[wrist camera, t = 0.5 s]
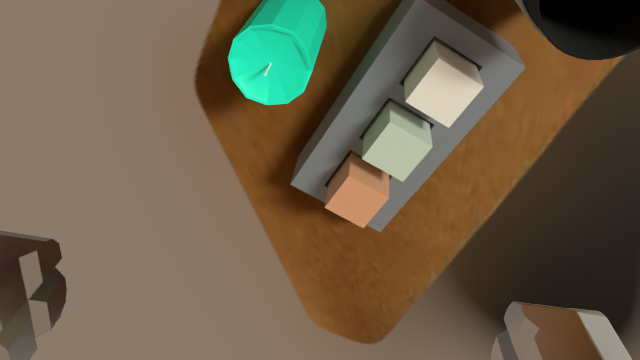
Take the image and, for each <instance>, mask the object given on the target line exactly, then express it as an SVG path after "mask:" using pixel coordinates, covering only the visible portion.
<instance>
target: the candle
mask: <svg viewBox="0 0 640 360" xmlns="http://www.w3.org/2000/svg"><path fill="white" fill-rule="evenodd" d="M326 27H327V23H326V15H325V8H324V7H323V5H322V4H321V3H320V1H319V0H263V1H262V2H261V3H260V5H259V6H258V7H257V9H256V10H255V11H254V13H253V14H252V15H251V17H250V18H249V19H248V21H247V22H246V23H245V25H244V26H243V27H242V28H241V30H240V31H239V32H238V34H237V35H236V36H235V38H234V39H233V42H232V46H231V49H230V53H229V56H228V62H229V66H230V71H231V76H232V80H233V81H234V83H235V84H236V85H237V87H238V88H239V89H240V90H241V92H242V93H243V94H244V96H245V97H246V98H248V99H251V100H254V101H257V102H259V103H262V104H265V105H275V104H287V103H289V102H290V101H292V100H293V99H294V98H296V97H297V96H299V95H300V94H301V93H303V92H304V90H305V88H306V85H307V83H308V80H309V78H310V76H311V73H312V71H313V68H314V64H315V61H316V58H317V55H318V52H319V49H320V46H321V43H322V40H323V37H324V34H325V31H326Z"/></svg>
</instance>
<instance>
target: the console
mask: <svg viewBox="0 0 640 360" xmlns="http://www.w3.org/2000/svg"><path fill="white" fill-rule="evenodd" d="M434 36H435V37H436V38H438V39H440V40H441V41H443V42H444V43H446V44H447V45H449V46H451V47H452V48H454V49H455V50H457V51H458V52H460V53H461V54H463V55H465V56H466V57H468V58H469V59H471V60H472V61H474V62H475V64H476V67H477V69H478V72H479V75H480V77H481V80H482V83H483V86H484V87H483V88H482V90H481V91H480V92H479V93H478V94H477V96H476V97H475V98H474V99H473V100H472V101H471V103H470V104H469V105H468V106H467V107H466V108H465V110H464V111H463V112H462V113H461V114H460V115H459V117H458V118H457V119H456V120H455V121H454V123H453V124H452V125H451V126H450V127H449V128H448V127H446V126H445V125H443V124H441V123H440V122H438V121H436V120H435V119H433V118H431V117H430V116H428V115H426V114H425V113H423V112H421V111H420V110H418V109H416V108H415V107H413V106H411V105H410V104H408V103H406V102H405V89H404V76H405V75H406V74H407V72H408V71H409V69H410V68H411V67H412V65H413V64H414V63H415V61H416V60H417V59H418V57H419V56H420V54H421V53H422V52H423V50H424V49H425V48H426V46H427V45H428V44H429V42H430V41H431V40H432V38H433V37H434ZM525 68H526V67H525V65H524V63H523V62H522V60H521V58H520V56H519V55H518V53H517V51H516V50H515V48H514V46H513V45H512V44H511V43H509V42H508V41H506V40H505V39H503V38H502V37H500V36H499V35H497V34H496V33H494V32H493V31H491V30H490V29H488V28H486V27H485V26H483V25H482V24H480V23H479V22H477V21H476V20H474V19H473V18H471V17H470V16H468V15H467V14H465V13H464V12H462V11H461V10H459V9H458V8H456V7H455V6H453V5H452V4H450V3H449V2H447V1H446V0H402V1H401V3H400V4H399V6H398V7H397V9H396V10H395V12H394V13H393V15H392V16H391V18H390V19H389V21H388V22H387V24H386V25H385V27H384V28H383V30H382V31H381V33H380V34H379V36H378V37H377V39H376V40H375V42H374V43H373V45H372V46H371V48H370V49H369V51H368V52H367V54H366V55H365V57H364V58H363V60H362V61H361V63H360V64H359V66H358V67H357V69H356V70H355V72H354V73H353V75H352V76H351V78H350V79H349V81H348V82H347V84H346V85H345V87H344V88H343V90H342V91H341V93H340V94H339V96H338V97H337V99H336V100H335V102H334V103H333V105H332V106H331V108H330V109H329V111H328V112H327V114H326V115H325V117H324V118H323V120H322V121H321V123H320V124H319V126H318V127H317V129H316V130H315V132H314V133H313V135H312V136H311V138H310V139H309V141H308V142H307V144H306V145H305V147H304V148H303V150H302V151H301V153H300V154H299V156H298V159H297V162H296V166H295V169H294V173H293V176H292V180H291V183H290V185H292V186H294V187H296V188H298V189H300V190H302V191H303V192H305V193H307V194H309V195H311V196H313V197H315V198H317V199H318V200H320V201H322V202H324V203H325V202H326V197H327V191H328V185H329V179H330V177H331V176H332V174H333V173H334V171H335V170H336V169H337V167H338V166H339V165H340V163H341V162H342V161H343V159H344V158H345V156H346V155H347V154H348V152H349V151H350V150H351V151H353V152H355V153H356V154H358V155H360V156H362V150H363V139H364V131H365V129H366V128H367V127H368V125H369V124H370V122H371V121H372V120H373V118H374V117H375V116H376V114H377V113H378V112H379V110H380V109H381V108H382V106H383V105H384V103H385V102H386V101H387V99H388V98H391V99H393V100H394V101H396V102H398V103H399V104H401V105H403V106H404V107H406V108H408V109H409V110H411V111H413V112H414V113H416V114H418V115H419V116H421V117H423V118H424V119H426V120H428V121H429V123H430V131H431V138H432V146H433V147H432V148H431V150H430V151H429V152H428V153H427V154H426V155H425V157H424V158H423V159H422V160H421V161H420V162H419V164H418V165H417V166H416V167H415V168H414V170H413V171H412V172H411V173H410V174H409V175H408V177H407V178H406V179H405V180H404V181H403V182H402V181H400V180H398V179H397V178H395V177H393V176H391V175H390V174H389V199H388V200H387V201H386V202H385V204H384V205H383V206H382V207H381V208H380V209H379V211H378V212H377V213H376V214H375V215H374V216H373V218H372V219H371V220H370V221H369V222H368V224H367V226H369V227H371V228H373V229H375V230H377V231H379V232H381V230H382V229H383V228H384V227H385V226H386V225H387V224H388V222H389V221H390V220H391V219H392V218H393V217H394V216H395V215H396V213H397V212H398V211H399V210H400V209H401V208H402V207H403V206H404V204H405V203H406V202H407V201H408V200H409V199H410V198H411V196H412V195H413V194H414V193H415V192H416V191H417V190H418V189H419V187H420V186H421V185H422V184H423V183H424V182H425V181H426V180H427V178H428V177H429V176H430V175H431V174H432V173H433V172H434V170H435V169H436V168H437V167H438V166H439V165H440V164H441V163H442V161H443V160H444V159H445V158H446V157H447V156H448V155H449V154H450V152H451V151H452V150H453V149H454V148H455V147H456V146H457V144H458V143H459V142H460V141H461V140H462V139H463V138H464V137H465V135H466V134H467V133H468V132H469V131H470V130H471V129H472V128H473V126H474V125H475V124H476V123H477V122H478V121H479V120H480V118H481V117H482V116H483V115H484V114H485V113H486V112H487V111H488V109H489V108H490V107H491V106H492V105H493V104H494V103H495V102H496V100H497V99H498V98H499V97H500V96H501V95H502V94H503V92H504V91H505V90H506V89H507V88H508V87H509V86H510V85H511V83H512V82H513V81H514V80H515V79H516V78H517V77H518V76H519V74H520V73H521V72H522V71H523V70H524V69H525Z"/></svg>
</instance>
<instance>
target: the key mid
mask: <svg viewBox="0 0 640 360" xmlns="http://www.w3.org/2000/svg"><path fill="white" fill-rule="evenodd" d="M432 147H433V146H432V138H431V131H430V123H429V121H428V120H426V119H424V118H423V117H421V116H419V115H418V114H416V113H414V112H413V111H411V110H409V109H408V108H406V107H404V106H403V105H401V104H399V103H398V102H396V101H394V100H393V99H391V98H388V99H387V101H386V102H385V103H384V105H383V106H382V108H381V109H380V110H379V112H378V113H377V114H376V116H375V117H374V118H373V120H372V121H371V122H370V124H369V125H368V127H367V128H366V129H365V131H364V139H363V150H362V159H363V160H365V161H366V162H368V163H370V164H372V165H374V166H375V167H377V168H379V169H381V170H382V171H384V172H386V173H388V174H390V175H391V176H393V177H395V178H397V179H398V180H400V181H402V182H403V181H404V180H405V179H406V178H407V177H408V175H409V174H410V173H411V172H412V171H413V170H414V168H415V167H416V166H417V165H418V164H419V162H420V161H421V160H422V159H423V158H424V157H425V155H426V154H427V153H428V152H429V151H430V150H431V148H432Z"/></svg>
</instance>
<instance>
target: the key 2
mask: <svg viewBox="0 0 640 360" xmlns="http://www.w3.org/2000/svg"><path fill="white" fill-rule="evenodd" d="M483 87H484V86H483V83H482V80H481V77H480V75H479V72H478V69H477V67H476V64H475V62H474V61H472V60H471V59H469V58H468V57H466V56H465V55H463V54H461V53H460V52H458V51H457V50H455V49H454V48H452V47H451V46H449V45H447V44H446V43H444V42H443V41H441V40H440V39H438V38H436V37H435V36H434V37H433V38H432V40H431V41H430V42H429V44H428V45H427V46H426V48H425V49H424V50H423V52H422V53H421V54H420V56H419V57H418V59H417V60H416V61H415V63H414V64H413V65H412V67H411V68H410V69H409V71H408V72H407V74H406V75H405V76H404V89H405V102H406V103H408V104H410V105H411V106H413V107H415V108H416V109H418V110H420V111H421V112H423V113H425V114H426V115H428V116H430V117H431V118H433V119H435V120H436V121H438V122H440V123H441V124H443V125H445V126H446V127H448V128H449V127H450V126H451V125H452V124H453V123H454V121H455V120H456V119H457V118H458V117H459V115H460V114H461V113H462V112H463V111H464V110H465V108H466V107H467V106H468V105H469V104H470V103H471V101H472V100H473V99H474V98H475V97H476V96H477V94H478V93H479V92H480V91H481V90H482V88H483Z"/></svg>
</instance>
